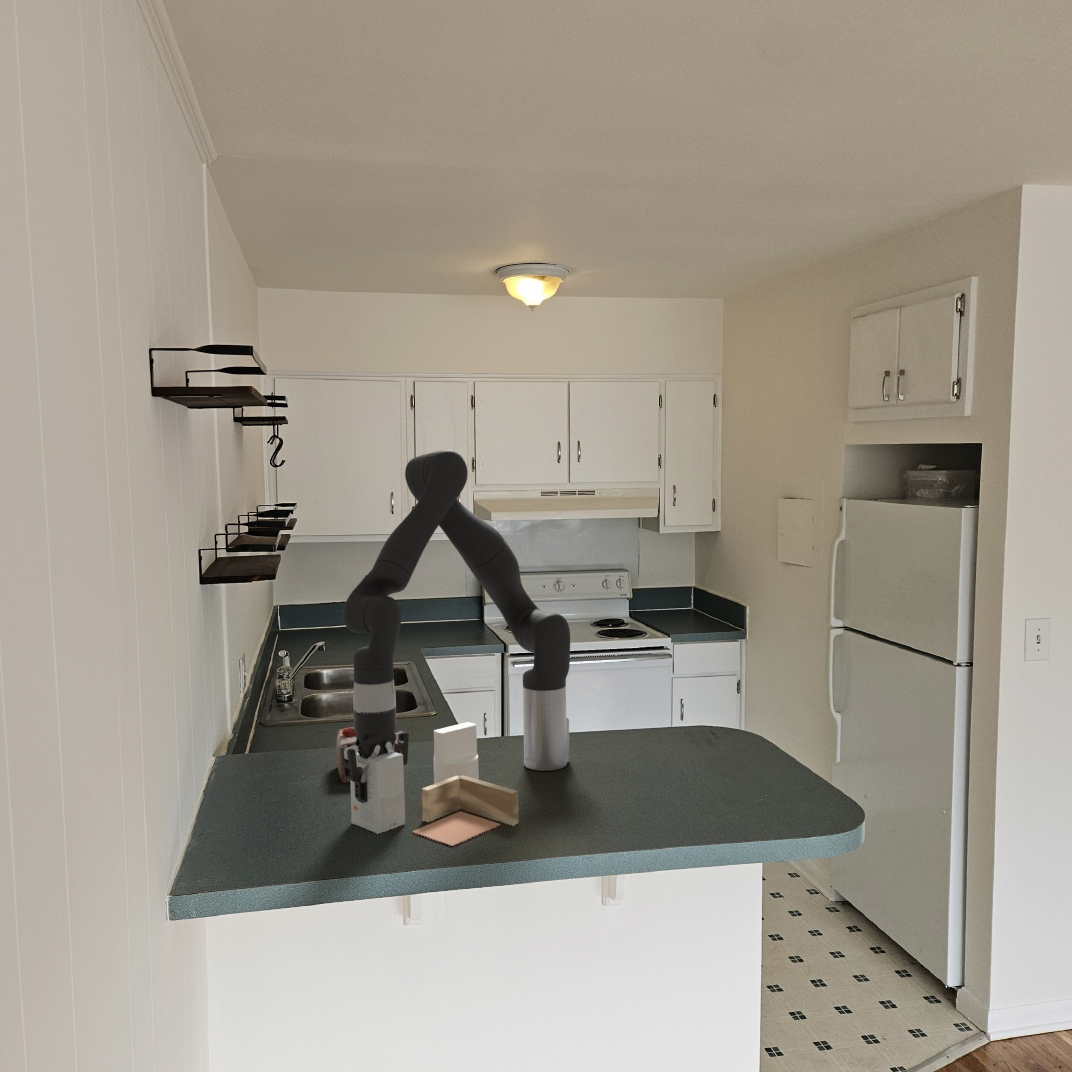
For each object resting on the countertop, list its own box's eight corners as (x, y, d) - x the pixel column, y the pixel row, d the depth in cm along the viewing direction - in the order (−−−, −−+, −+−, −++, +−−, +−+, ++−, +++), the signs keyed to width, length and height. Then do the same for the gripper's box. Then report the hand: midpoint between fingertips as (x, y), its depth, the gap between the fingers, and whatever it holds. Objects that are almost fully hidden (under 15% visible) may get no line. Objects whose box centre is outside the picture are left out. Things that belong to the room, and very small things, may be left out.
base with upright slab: (451, 797, 182) (450, 736, 181) (425, 785, 188) (423, 727, 187) (487, 786, 188) (486, 727, 187) (461, 775, 194) (459, 718, 193)
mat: (460, 812, 173) (460, 811, 173) (500, 825, 167) (500, 823, 167) (412, 832, 164) (412, 831, 164) (452, 847, 158) (452, 845, 158)
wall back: (463, 806, 177) (462, 775, 176) (518, 823, 168) (518, 791, 167) (457, 808, 176) (456, 777, 175) (513, 826, 167) (512, 793, 166)
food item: (334, 764, 203) (333, 720, 202) (371, 761, 205) (370, 717, 204) (338, 785, 190) (336, 737, 189) (377, 781, 192) (376, 734, 191)
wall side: (457, 806, 177) (456, 775, 176) (463, 808, 176) (462, 777, 175) (422, 820, 170) (421, 788, 169) (428, 822, 169) (427, 790, 168)
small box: (406, 824, 168) (404, 754, 167) (377, 835, 163) (375, 762, 162) (378, 813, 174) (376, 745, 173) (350, 823, 169) (348, 753, 168)
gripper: (391, 694, 175) (393, 781, 176) (329, 710, 164) (332, 802, 165) (418, 700, 170) (421, 789, 171) (356, 717, 159) (359, 812, 160)
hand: (377, 795), depth 168 cm, fingers closed on small box, 6 cm apart
